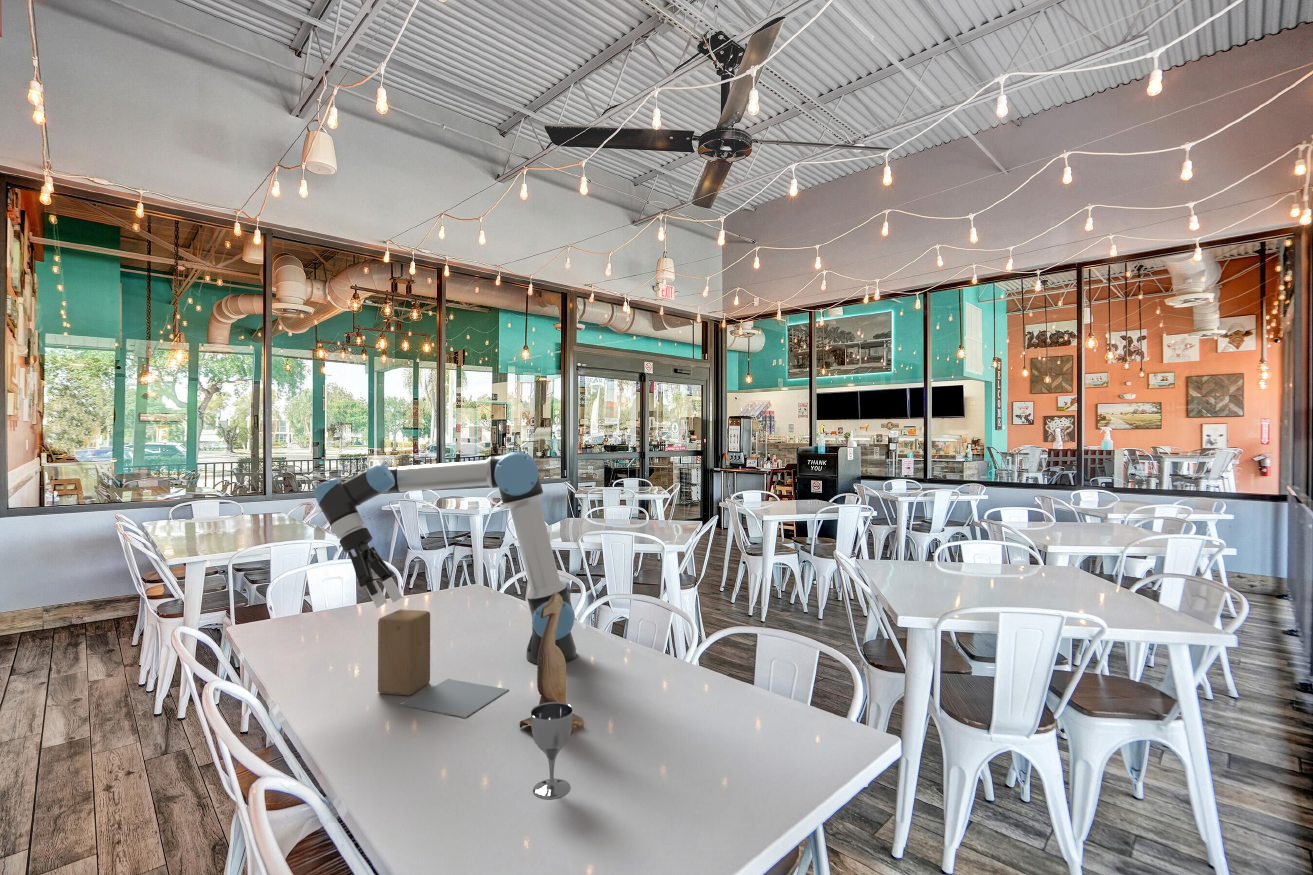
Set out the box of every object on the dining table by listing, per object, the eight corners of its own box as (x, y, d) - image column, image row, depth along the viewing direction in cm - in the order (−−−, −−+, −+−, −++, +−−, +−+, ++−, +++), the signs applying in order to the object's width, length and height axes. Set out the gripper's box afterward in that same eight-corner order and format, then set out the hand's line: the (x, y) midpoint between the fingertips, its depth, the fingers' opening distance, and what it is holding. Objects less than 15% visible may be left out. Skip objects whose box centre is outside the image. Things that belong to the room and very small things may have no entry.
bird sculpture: (516, 731, 145) (514, 593, 144) (555, 713, 154) (553, 583, 153) (548, 747, 138) (546, 602, 137) (587, 726, 147) (585, 591, 146)
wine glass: (533, 778, 124) (533, 702, 124) (573, 776, 125) (573, 701, 125) (528, 801, 116) (528, 720, 116) (571, 799, 117) (571, 718, 117)
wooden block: (410, 697, 163) (410, 620, 163) (376, 694, 165) (376, 618, 165) (431, 682, 173) (431, 610, 173) (399, 679, 175) (399, 608, 175)
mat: (508, 690, 168) (508, 689, 168) (465, 718, 151) (465, 716, 151) (448, 679, 175) (448, 678, 175) (400, 705, 158) (400, 704, 158)
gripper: (356, 540, 180) (391, 605, 179) (319, 541, 156) (360, 615, 154) (380, 526, 182) (415, 591, 180) (348, 525, 157) (388, 599, 156)
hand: (390, 602), depth 167 cm, fingers open, 13 cm apart
